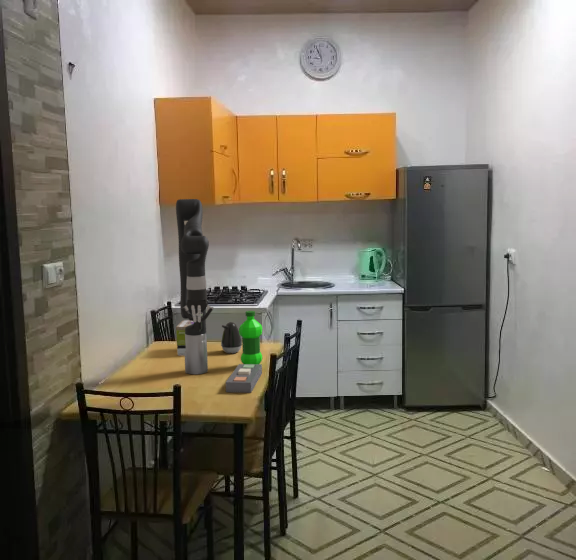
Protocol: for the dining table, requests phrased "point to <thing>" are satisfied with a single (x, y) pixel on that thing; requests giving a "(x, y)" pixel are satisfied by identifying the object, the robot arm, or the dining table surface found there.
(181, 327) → the tea box
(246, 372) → the cream button
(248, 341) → the plastic bottle
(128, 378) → the dining table surface
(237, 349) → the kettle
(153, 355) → the dining table surface
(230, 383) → the button panel
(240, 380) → the terracotta button
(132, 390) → the dining table surface
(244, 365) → the green button
